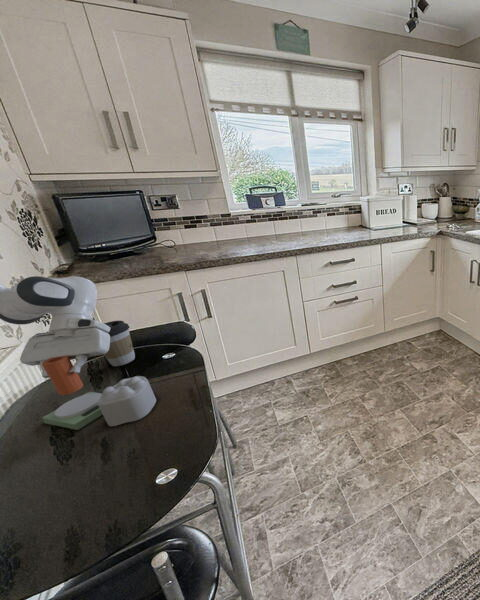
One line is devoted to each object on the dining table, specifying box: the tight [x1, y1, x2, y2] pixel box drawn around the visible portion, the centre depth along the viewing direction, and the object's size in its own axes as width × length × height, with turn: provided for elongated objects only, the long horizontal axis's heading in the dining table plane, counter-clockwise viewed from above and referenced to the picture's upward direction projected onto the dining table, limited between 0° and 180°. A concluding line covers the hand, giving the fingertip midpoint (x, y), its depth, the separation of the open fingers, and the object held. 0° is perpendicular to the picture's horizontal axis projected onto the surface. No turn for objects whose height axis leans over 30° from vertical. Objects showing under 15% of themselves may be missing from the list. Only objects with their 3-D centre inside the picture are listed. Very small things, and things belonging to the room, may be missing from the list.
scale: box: [41, 391, 103, 431], centre depth 95 cm, size 14×12×3 cm
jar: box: [42, 355, 84, 396], centre depth 91 cm, size 5×5×10 cm
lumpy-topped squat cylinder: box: [97, 375, 157, 427], centre depth 94 cm, size 10×13×9 cm
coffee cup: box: [103, 320, 136, 367], centre depth 121 cm, size 11×11×15 cm
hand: (61, 374), depth 91 cm, fingers closed on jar, 5 cm apart
